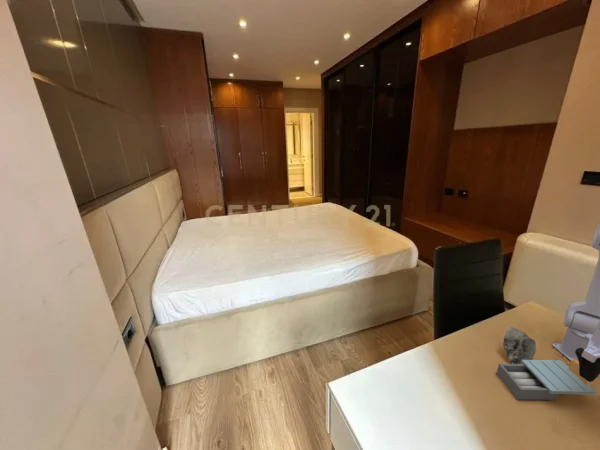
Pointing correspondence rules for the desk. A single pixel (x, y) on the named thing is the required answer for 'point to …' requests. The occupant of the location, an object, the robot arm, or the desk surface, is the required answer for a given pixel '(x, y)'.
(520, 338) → the stone
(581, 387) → the lid
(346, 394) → the desk surface
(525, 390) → the tub
